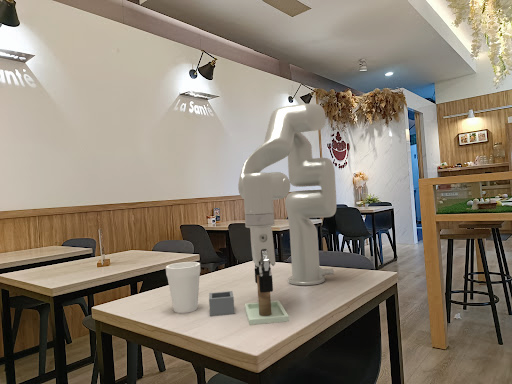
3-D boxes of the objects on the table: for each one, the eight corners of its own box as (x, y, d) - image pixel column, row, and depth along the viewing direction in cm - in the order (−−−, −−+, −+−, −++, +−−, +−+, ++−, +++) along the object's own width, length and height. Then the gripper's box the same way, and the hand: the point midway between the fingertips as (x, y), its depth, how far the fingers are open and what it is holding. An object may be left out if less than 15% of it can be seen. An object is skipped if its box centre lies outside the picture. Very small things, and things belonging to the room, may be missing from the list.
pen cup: (233, 308, 107) (232, 290, 107) (234, 316, 101) (233, 297, 101) (210, 311, 106) (209, 293, 106) (210, 318, 100) (209, 299, 100)
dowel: (270, 311, 101) (268, 273, 101) (272, 315, 97) (270, 276, 97) (258, 312, 100) (256, 274, 100) (260, 316, 97) (257, 277, 97)
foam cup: (171, 307, 112) (168, 263, 112) (203, 305, 112) (200, 260, 112) (166, 318, 102) (163, 269, 102) (201, 315, 103) (198, 267, 103)
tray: (244, 310, 105) (244, 303, 105) (279, 307, 106) (279, 300, 106) (249, 327, 91) (249, 319, 91) (289, 323, 93) (288, 316, 93)
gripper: (280, 222, 91) (284, 294, 91) (269, 217, 108) (272, 278, 108) (248, 224, 90) (252, 297, 90) (242, 219, 107) (246, 280, 107)
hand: (263, 287), depth 99 cm, fingers open, 9 cm apart
